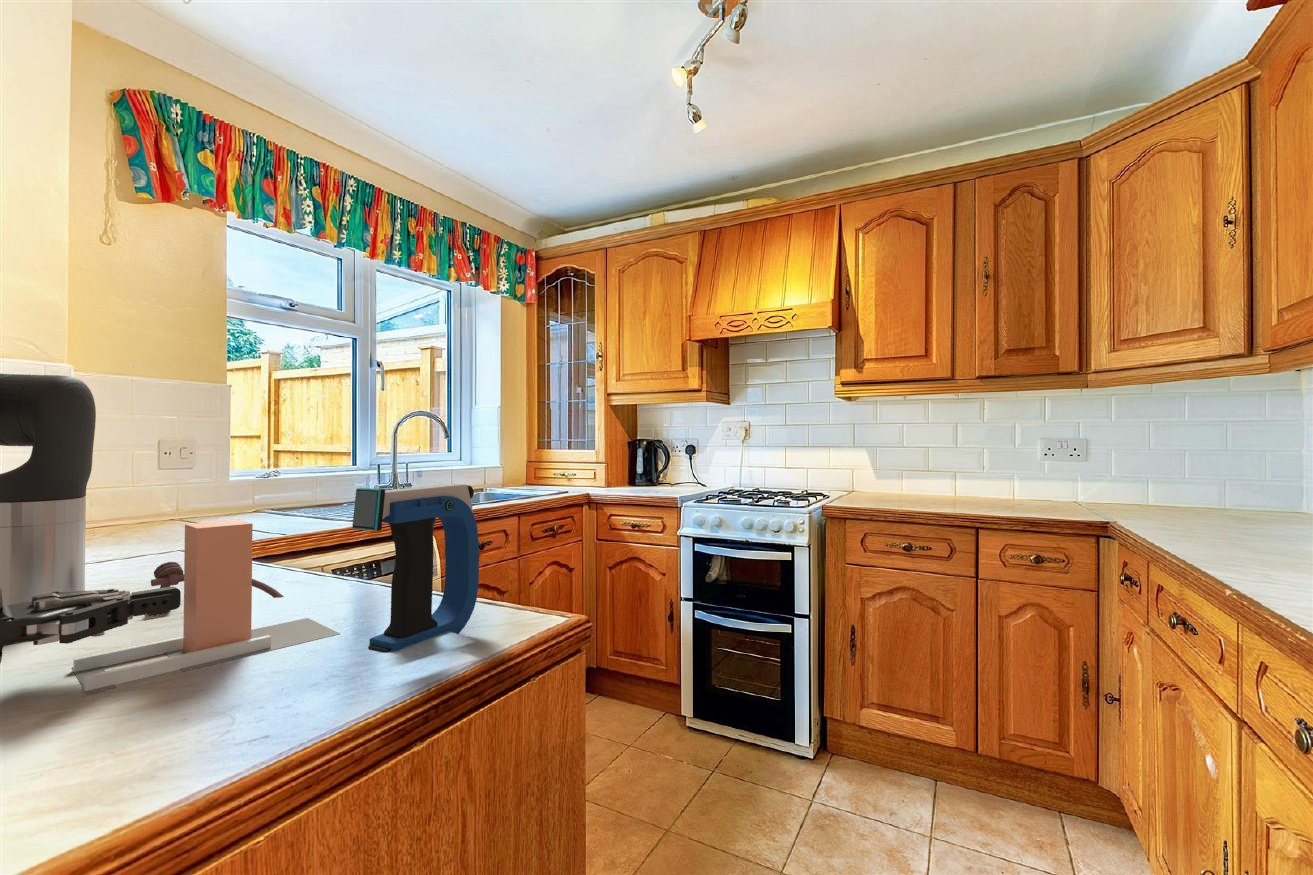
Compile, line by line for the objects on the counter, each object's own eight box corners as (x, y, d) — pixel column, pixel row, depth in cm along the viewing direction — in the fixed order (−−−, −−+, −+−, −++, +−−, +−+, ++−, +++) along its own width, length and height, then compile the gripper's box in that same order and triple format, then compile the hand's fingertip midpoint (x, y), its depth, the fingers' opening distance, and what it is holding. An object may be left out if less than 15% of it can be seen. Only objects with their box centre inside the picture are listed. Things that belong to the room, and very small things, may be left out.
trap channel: (71, 682, 59) (71, 655, 59) (307, 629, 76) (307, 608, 76) (86, 710, 53) (87, 681, 53) (340, 646, 70) (340, 623, 70)
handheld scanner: (345, 665, 64) (349, 487, 64) (454, 624, 78) (457, 480, 78) (374, 673, 62) (378, 490, 62) (480, 630, 76) (483, 481, 76)
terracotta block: (183, 650, 64) (184, 524, 64) (236, 638, 68) (238, 519, 68) (195, 660, 61) (197, 528, 61) (251, 648, 65) (252, 523, 65)
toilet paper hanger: (100, 645, 67) (68, 572, 73) (87, 698, 69) (57, 623, 76) (296, 602, 86) (257, 546, 92) (281, 645, 88) (244, 588, 94)
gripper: (-87, 608, 44) (195, 570, 58) (-81, 582, 53) (164, 554, 66) (-89, 706, 44) (195, 645, 58) (-83, 664, 53) (163, 620, 66)
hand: (178, 596), depth 62 cm, fingers closed
